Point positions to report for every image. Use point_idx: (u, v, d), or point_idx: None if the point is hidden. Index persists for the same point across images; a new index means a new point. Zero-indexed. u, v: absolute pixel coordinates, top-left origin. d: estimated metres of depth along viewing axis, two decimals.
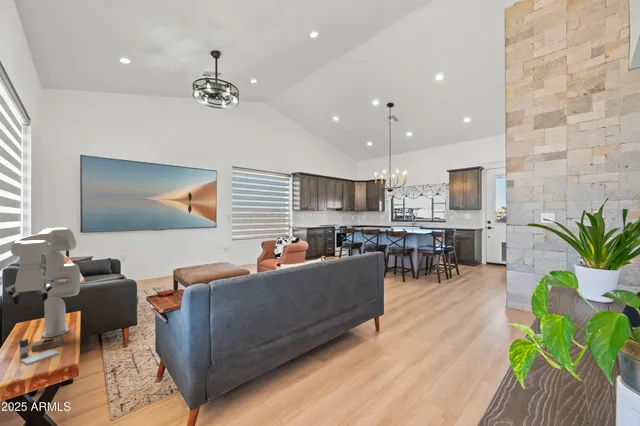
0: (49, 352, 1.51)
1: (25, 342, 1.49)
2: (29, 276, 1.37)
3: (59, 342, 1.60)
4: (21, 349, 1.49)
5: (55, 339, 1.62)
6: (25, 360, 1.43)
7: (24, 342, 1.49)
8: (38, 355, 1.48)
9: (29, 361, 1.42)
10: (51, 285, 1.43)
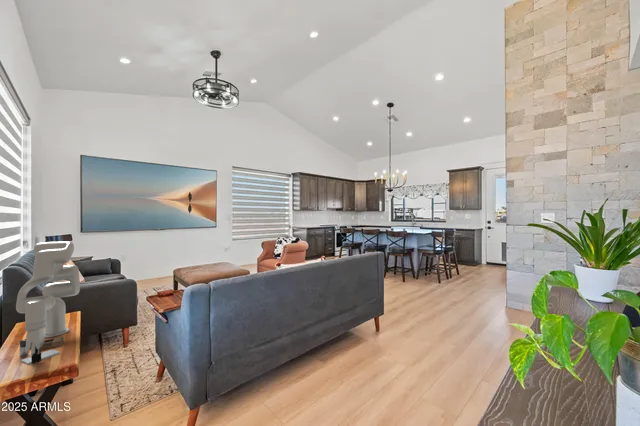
0: (49, 352, 1.51)
1: (25, 342, 1.49)
2: (43, 331, 1.44)
3: (59, 342, 1.60)
4: (21, 349, 1.49)
5: (55, 339, 1.62)
6: (26, 360, 1.43)
7: (24, 342, 1.49)
8: None
9: (30, 361, 1.42)
10: None
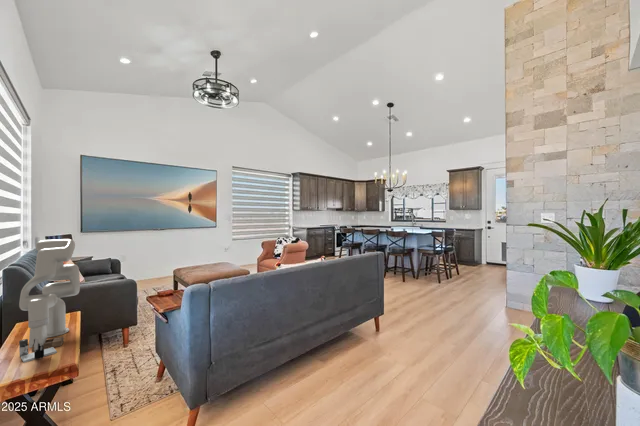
0: (48, 350, 1.53)
1: (24, 342, 1.49)
2: (45, 328, 1.48)
3: (59, 342, 1.60)
4: (21, 349, 1.48)
5: (55, 339, 1.62)
6: (24, 357, 1.46)
7: (24, 342, 1.49)
8: None
9: (26, 358, 1.45)
10: None
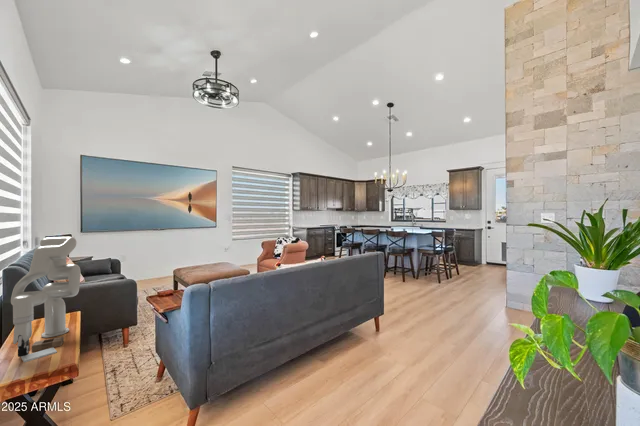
0: (48, 350, 1.53)
1: None
2: (30, 325, 1.51)
3: (59, 342, 1.60)
4: None
5: (55, 339, 1.62)
6: (24, 357, 1.46)
7: None
8: (38, 353, 1.51)
9: (27, 358, 1.45)
10: None
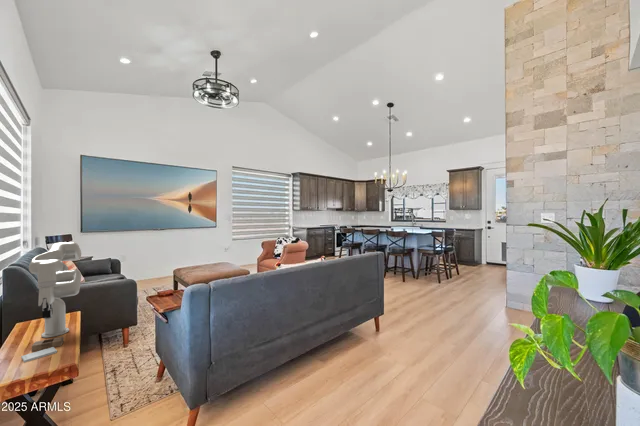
0: (49, 350, 1.53)
1: None
2: (53, 290, 1.62)
3: (59, 342, 1.60)
4: None
5: (55, 339, 1.62)
6: (24, 357, 1.46)
7: None
8: (38, 352, 1.51)
9: (27, 358, 1.45)
10: None
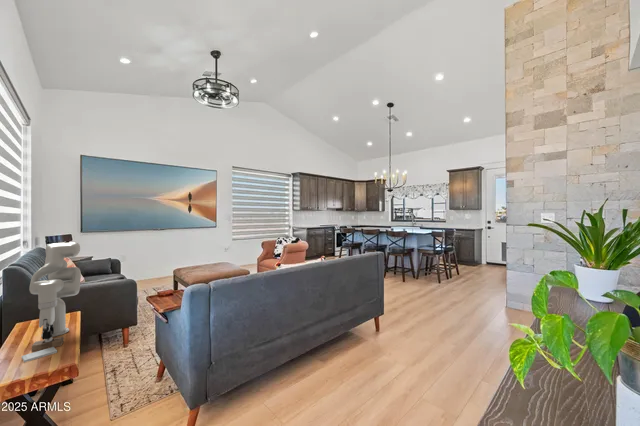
0: (49, 350, 1.54)
1: None
2: (53, 310, 1.62)
3: (59, 342, 1.60)
4: (46, 340, 1.59)
5: (55, 339, 1.62)
6: (24, 357, 1.46)
7: None
8: (38, 352, 1.51)
9: (27, 358, 1.45)
10: None
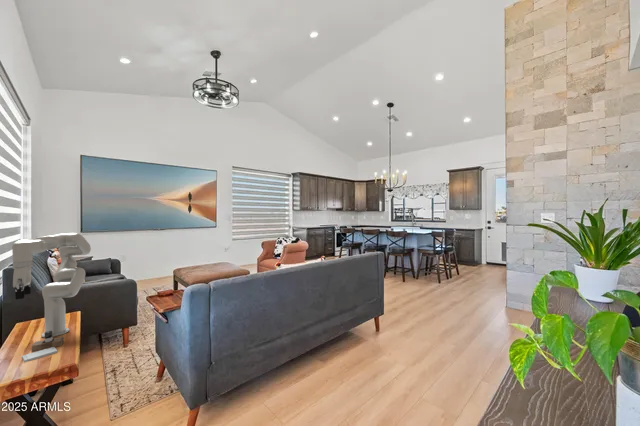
0: (49, 350, 1.54)
1: (49, 333, 1.60)
2: (29, 271, 1.54)
3: (59, 342, 1.60)
4: (46, 340, 1.59)
5: (55, 339, 1.62)
6: (25, 356, 1.47)
7: (49, 333, 1.59)
8: (38, 352, 1.51)
9: (27, 358, 1.45)
10: None
